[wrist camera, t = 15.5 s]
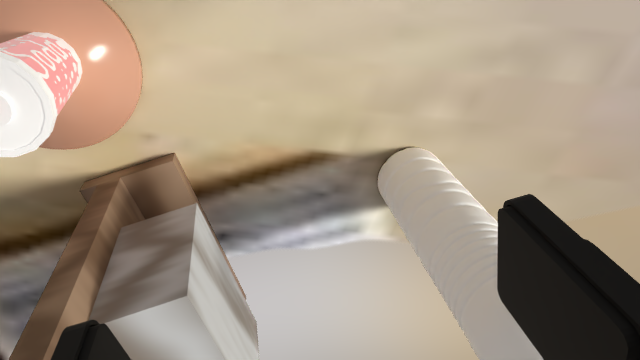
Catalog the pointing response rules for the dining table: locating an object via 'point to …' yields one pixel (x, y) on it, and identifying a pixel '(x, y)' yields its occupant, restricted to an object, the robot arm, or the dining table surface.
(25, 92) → the beverage cup
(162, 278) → the mount stand
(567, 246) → the robot arm
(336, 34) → the dining table surface
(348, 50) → the dining table surface
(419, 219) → the water bottle
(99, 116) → the peach round disc
